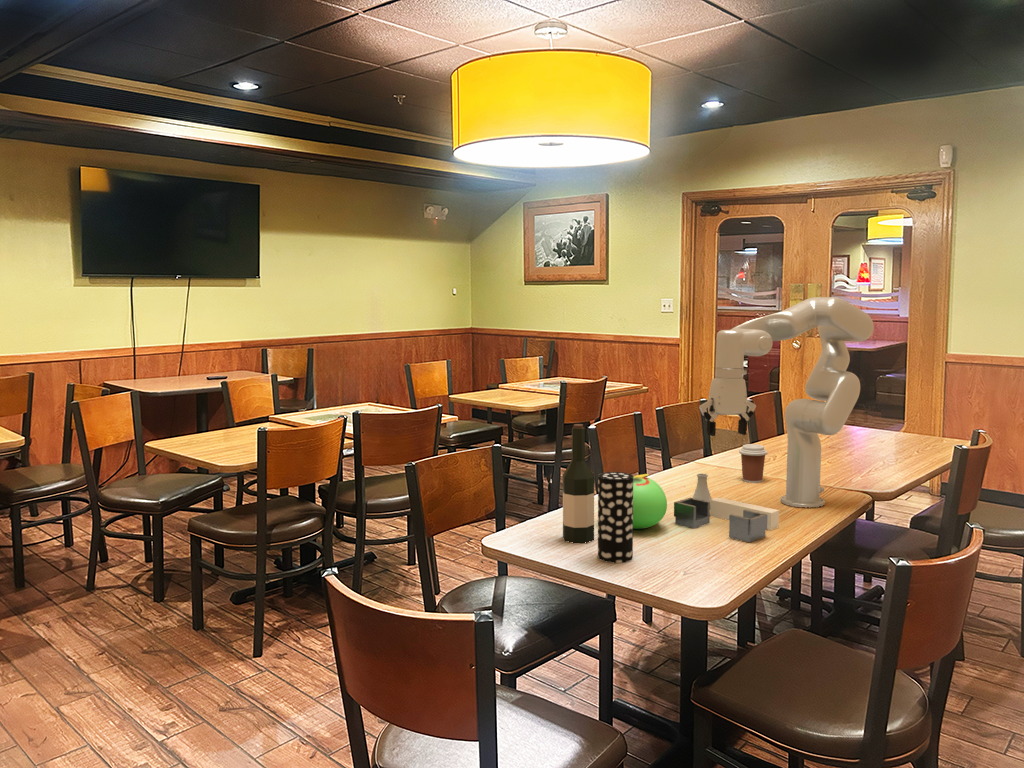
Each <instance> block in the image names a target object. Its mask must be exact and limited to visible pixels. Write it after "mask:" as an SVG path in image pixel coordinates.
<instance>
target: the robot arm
mask: <svg viewBox="0 0 1024 768" xmlns="http://www.w3.org/2000/svg"><path fill="white" fill-rule="evenodd" d="M814 328H817V332H818V336H819V339H820V343H821V344H820V345H821V353H820V355H819V358H818V359H817V361H816V363H815V365H814V367H813V369H812V370H811V373H810V374H809V376H808V378H807V380H806V383H805V388H804V391H805V393H806V395H807V396H808V397H809V398H812V399H809V398H797V399H794V400H791V401H790V402H789V403H788V404H787V406H786V408H785V410H784V420H785V426H786V433H787V451H786V480H785V481H786V482H785V483H786V486H785V488H786V489H785V494H784V495H782V496H780V503H783V504H784V505H786V506H789V505H790V507H794V506H795V507H794V508H802V507H805V508H806V509H807V507H809V508H808V509H811V508H810V507H816V508H820V507H819V506H821V507H823V505H824V504H825V503H826V501H825V499H824V498H822V497H821V496H820V494H821V493H824V492H825V487H824V486H823V485H821V468H822V467H821V465H822V443H821V440H820V437H819V435H824V436H833V435H836V434H838V433H839V432H841V430H842V429H843V427H844V425H846V422H847V420H848V418H849V416H850V415H851V413H852V412H853V409H854V407H855V405H856V403H857V402H858V399H859V396H860V393H861V382H860V379H859V377H858V376H857V375H856V374H855V373H853V372H851V371H847V369H848V368H849V364H850V361H851V360H850V359H851V358H850V357H851V356H850V353H849V350H848V347H847V345H846V342H855V343H859V342H864V341H867V340H868V339H870V337H872V334H873V333H874V329H875V327H874V321H873V319H872V318H871V316H870V315H869V314H868V313H867V312H865V311H864V310H862V309H860V307H859V308H858V307H857V306H856V305H854V304H852V303H851V302H849V301H847V300H845V299H843V298H840V297H837V296H813V297H810V298H807V299H804V300H803V301H800V302H798V303H796V304H794V305H791V306H790V307H788V308H786V309H784V310H781V311H779V312H775V313H771V314H768V315H764V316H761V317H757V318H753V319H751V320H749V321H748V320H747V321H745V322H743V323H741V324H739V325H737V326H734V327H732V328H731V329H723V330H722V329H721V330H719V331H718V332H717V333H716V342H715V344H716V347H715V349H716V350H715V375H714V376H715V377H714V378H712V379H711V382H710V386H709V391H708V399H707V401H705V402H704V403H701V404H700V405H698V406H699V407H698V408H699V411H700V412H701V415H702V417H703V418H705V419H704V420H705V421H706V432H707V435H708V436H711V437H715V436H716V430H717V428H716V427H717V426H716V425H717V423H716V421H715V420H716V419H717V417H719V416H730V415H731V416H736V415H738V417H739V419H738V425H737V426H738V427H737V433H738V434H739V435H742V436H746V435H747V430H748V421H750V419H751V417H752V416H753V415H754V412H755V410H756V408H757V405H756V404H755V403H753V402H751V401H750V400H748V394H747V385H746V380H745V379H744V375H747V374H748V373H747V372H748V371H747V370H746V369H744V368H745V367H744V365H745V364H744V359H745V358H744V357H745V356H748V357H762V356H765V355H767V354H769V352H770V351H771V350H772V348H773V342H778V341H779V342H781V341H786V340H792V339H794V338H797V337H799V336H800V335H802V334H804V333H806V332H808V331H810V330H812V329H814ZM747 409H748V410H747ZM825 505H826V504H825ZM825 505H824V506H825ZM805 508H804V509H805Z"/></svg>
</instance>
